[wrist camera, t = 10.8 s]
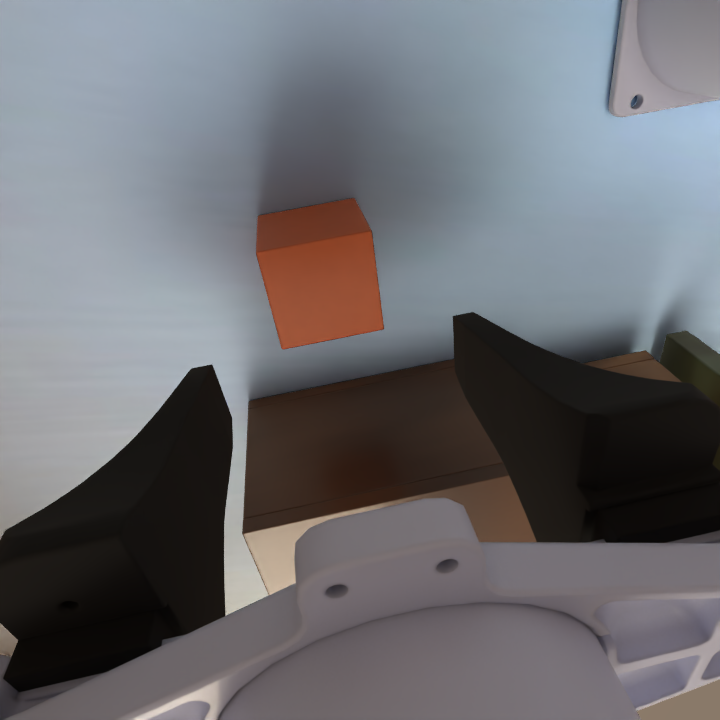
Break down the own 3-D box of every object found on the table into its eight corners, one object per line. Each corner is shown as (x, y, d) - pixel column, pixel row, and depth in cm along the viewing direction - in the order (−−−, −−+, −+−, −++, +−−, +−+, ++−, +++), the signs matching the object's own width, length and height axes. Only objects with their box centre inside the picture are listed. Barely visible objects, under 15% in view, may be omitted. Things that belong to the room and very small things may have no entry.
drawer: (771, 312, 27) (898, 383, 22) (716, 456, 34) (804, 540, 28) (456, 377, 27) (505, 469, 21) (460, 513, 33) (499, 611, 27)
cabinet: (503, 348, 27) (585, 458, 20) (499, 499, 34) (558, 620, 27) (248, 400, 26) (242, 533, 19) (296, 544, 33) (305, 679, 26)
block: (354, 197, 21) (372, 230, 18) (367, 285, 24) (384, 330, 20) (257, 215, 21) (255, 252, 18) (279, 302, 24) (281, 350, 20)
